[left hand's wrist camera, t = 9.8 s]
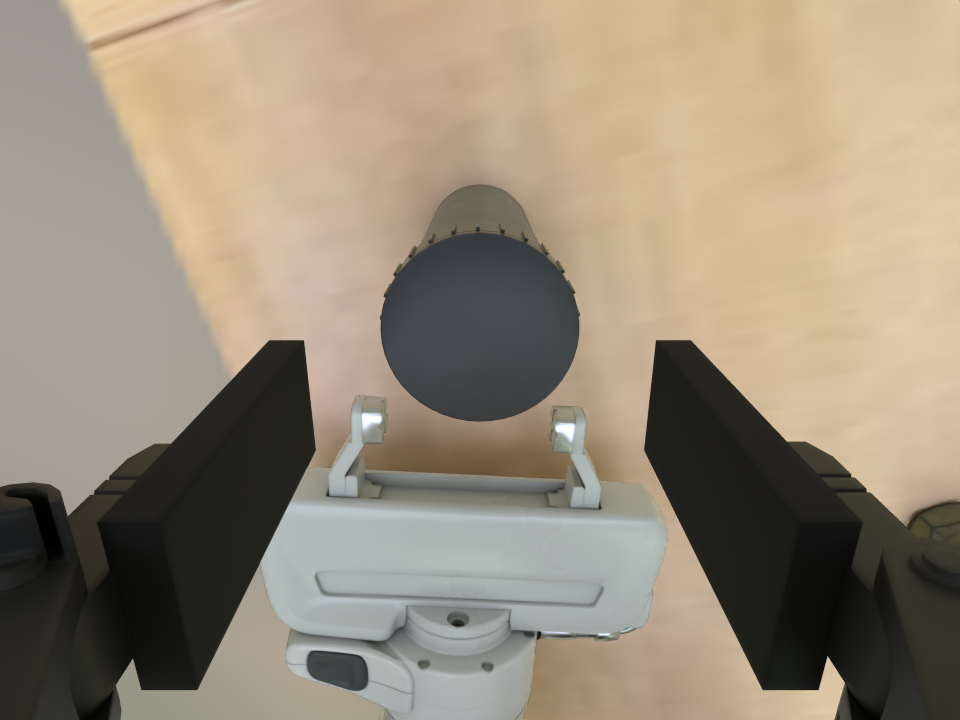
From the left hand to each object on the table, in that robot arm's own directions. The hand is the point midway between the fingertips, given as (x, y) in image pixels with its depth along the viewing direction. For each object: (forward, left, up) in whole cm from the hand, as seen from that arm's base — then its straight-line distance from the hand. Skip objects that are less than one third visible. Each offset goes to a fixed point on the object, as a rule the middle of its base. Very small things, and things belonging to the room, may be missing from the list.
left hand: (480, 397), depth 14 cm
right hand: (+6, +2, -14) cm, 16 cm away
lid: (0, 0, -5) cm, 5 cm away
